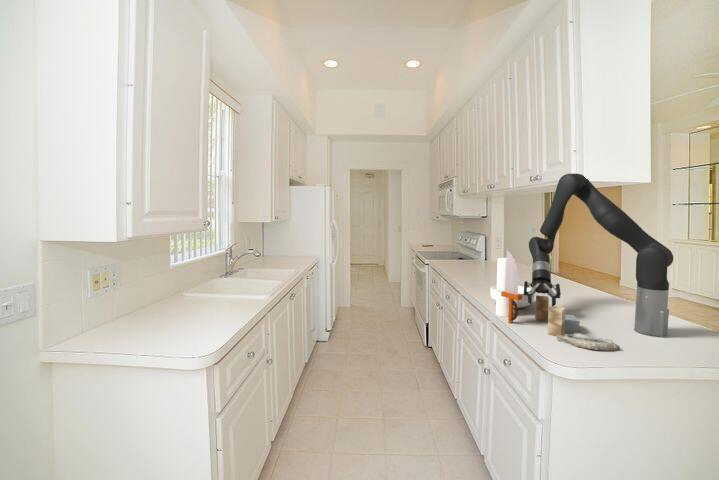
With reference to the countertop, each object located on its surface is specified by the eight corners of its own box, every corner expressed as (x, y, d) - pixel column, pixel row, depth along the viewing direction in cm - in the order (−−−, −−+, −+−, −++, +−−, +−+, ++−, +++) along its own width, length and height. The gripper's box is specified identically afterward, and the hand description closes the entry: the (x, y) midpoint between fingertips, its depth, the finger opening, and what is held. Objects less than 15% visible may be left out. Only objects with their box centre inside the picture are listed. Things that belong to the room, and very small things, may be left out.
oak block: (564, 334, 132) (565, 308, 131) (560, 337, 129) (562, 310, 128) (551, 331, 135) (552, 306, 134) (547, 334, 132) (548, 308, 131)
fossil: (555, 344, 123) (556, 336, 123) (560, 335, 131) (560, 328, 130) (619, 358, 112) (620, 349, 112) (620, 347, 120) (620, 339, 120)
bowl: (543, 310, 165) (544, 292, 164) (506, 313, 160) (507, 294, 159) (515, 299, 184) (516, 284, 183) (482, 302, 179) (482, 285, 178)
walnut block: (546, 319, 150) (547, 296, 150) (547, 322, 146) (548, 298, 146) (535, 318, 152) (536, 295, 152) (535, 321, 148) (536, 297, 147)
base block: (573, 327, 141) (573, 315, 140) (578, 334, 133) (579, 321, 133) (550, 325, 143) (551, 313, 143) (555, 331, 136) (555, 319, 135)
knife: (500, 320, 149) (502, 250, 147) (504, 319, 150) (506, 249, 148) (516, 325, 142) (519, 252, 139) (521, 325, 143) (523, 251, 141)
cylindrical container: (514, 317, 154) (516, 260, 151) (497, 316, 155) (499, 260, 153) (511, 312, 160) (512, 258, 158) (494, 311, 162) (496, 257, 160)
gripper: (524, 267, 159) (523, 297, 150) (560, 269, 154) (561, 301, 144) (523, 276, 165) (523, 306, 155) (558, 279, 159) (559, 310, 149)
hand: (541, 304), depth 150 cm, fingers open, 8 cm apart
